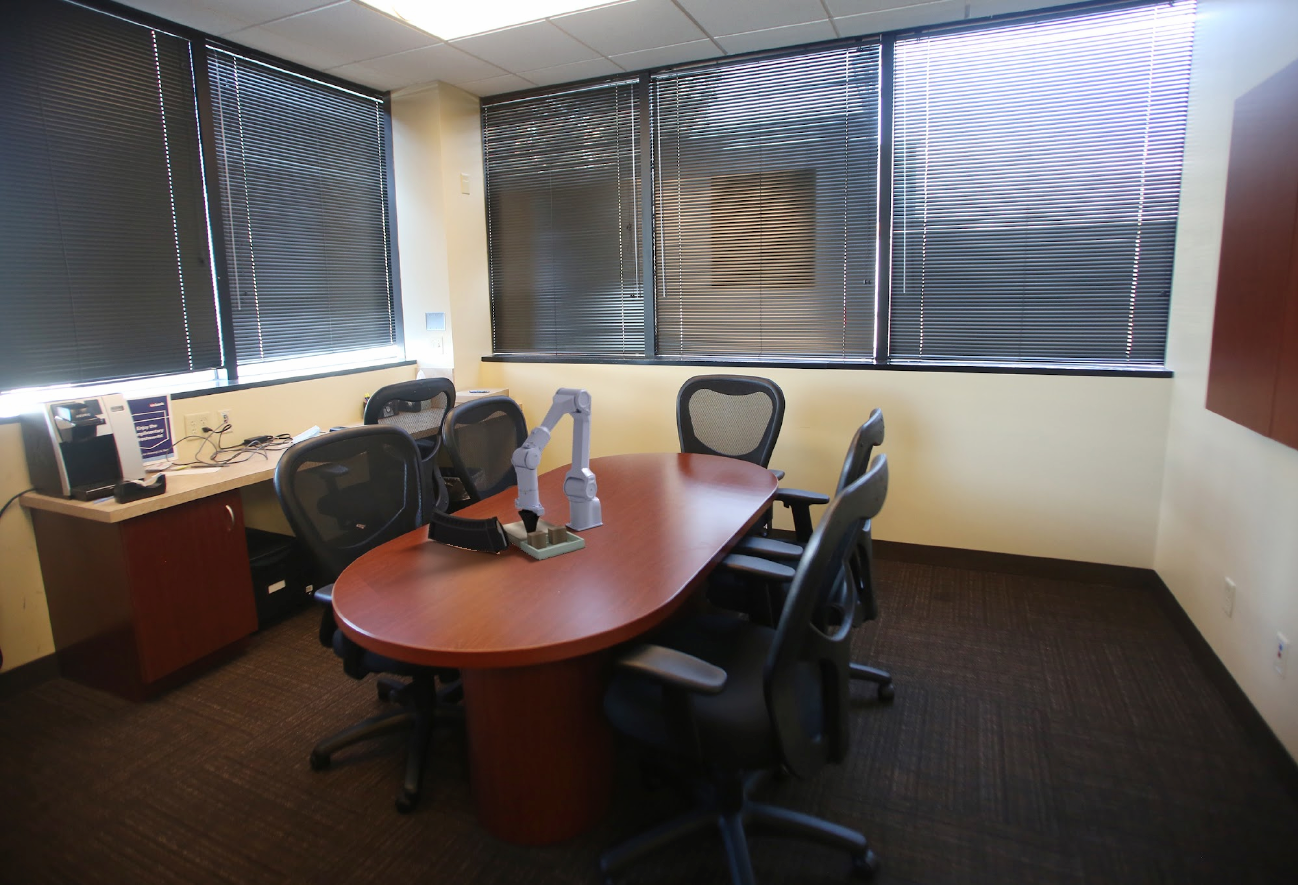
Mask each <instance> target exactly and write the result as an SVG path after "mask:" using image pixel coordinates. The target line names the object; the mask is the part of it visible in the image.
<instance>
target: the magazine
mask: <svg viewBox="0 0 1298 885" xmlns="http://www.w3.org/2000/svg"><path fill="white" fill-rule="evenodd" d="M503 525H504V524H502V522H500V521H499V519H498V516H492V517H490V518H468V517H467V518H466V517H460V516H457V515H452V514H448V513H446V512H443V511H441V510H439V509H438V508H434V509H432V512H431V515H430V518H429V521H428V533H427V539H429V540H432V541H434V542H437V543H441V544H442V543H443V545H445V544H450V545H453V546H458V547H462V548H467V549H471V550H477V551H476V552H480V551H486V552H487V551H488V552H487V553H495V554H496V553H498V552H500V553H501V552H504V551H507V550H508V549H509V548H510V547H511V545H512V544H511V543H510V541H509V538H508V535H507V531H505V529H504V527H503ZM486 552H485V553H486Z"/></svg>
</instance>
